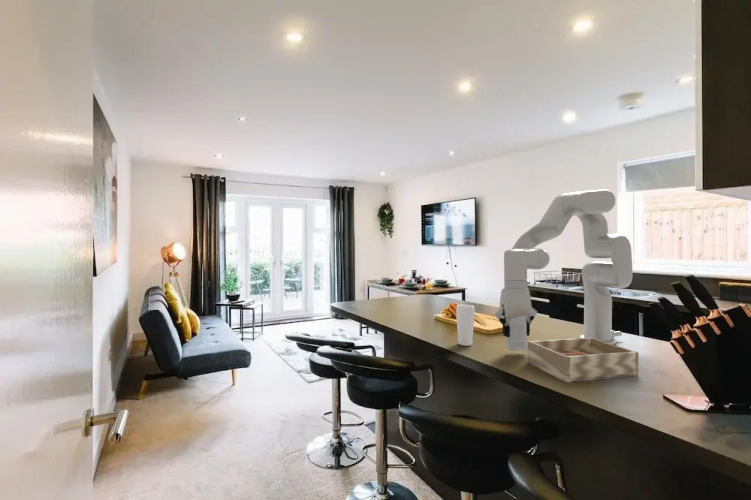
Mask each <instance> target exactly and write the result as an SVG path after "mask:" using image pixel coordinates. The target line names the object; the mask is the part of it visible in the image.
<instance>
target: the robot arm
mask: <svg viewBox="0 0 751 500" xmlns="http://www.w3.org/2000/svg"><path fill="white" fill-rule="evenodd" d="M615 204H616V196H615V194H614V192H612V191H611V190H609V189H597V190H585V191H575V192H567V193H566V192H565V193H561V194H559V195H557V196H556V197H555V198H554V199H553V200H552V201H551V203H550V205H549V206H548V208H547V210H546V212H545V213H544V214H543V216H542V217H541V219H540V220H539V222H537V224H535V225H534V226H532V227H531V228H530V229H528V230H527V231H525V232H524V233H523V234H522V235H521V236H519V237H518V239H517V240H516V242H515V243H514V245H513V246H512V248H511V249H505V251H504V253H503V276H504V277H503V280H504V281H503V282H504V284H503V286H504V287H503V288H501V291H500V298H499V309H498V310H497V311H496V312H495V313H494V314H493V315H494V317H495V318H496V319H497V320H498V322H499V323H500V324H501V325H502V335H503V337H506V338H507V337H510V326H508V324H509V322H510V319H511V318H516V317H519V316H526V325H527V336H530V332H531V327H530V325H531V324H532V321H534V319H535V317H536V316H537V314H538V311H537V310H536V309H535V308H533V306H532V300H531V299H532V298H531V293H530V289H529V288H528V285H531V283H530V282H531V281H530V280H528V270H536V271H537V270H543V269H545V268H546V267H547V266H548V265H549V264H550V255H549V253H548V252H547V251H546V250H545V249H542V248H538V247H537V246H539V245H540V244H542V243H544V242H549V241H551V240H554V239H555V238H557V237H560V236H561V234H563V231H564V230H565V228H566V227H567V225H568V223H569V222H570V220H571V219H572V217H574V216H576V217H577V218H578V219H579V220H580V223H581V225H582V234H583V248H584V249H583V250H584V253H585V256H586V257H587V258H591V259H599V260H611V262H609V261H592V262H588V263H586V264H584V266H583V267H582V269H581V279H582V283H583V291H584V293H583V297H584V298H583V299H584V300H583V301H584V302H583V304H584V305H583V308H584V309H583V311H584V312H583V334H581V335H580V336H579V338H594V339H597V340H600V341H603V342H607V343H610V344H613V345H616V344H617V340H616V339H615V337H621V336H622V332H621V331H620V330H618V331H614V330H613V329H612V327H613V326H612V325H613V323H612V319H613V316H612V315H613V309H612V308H613V299H612V294H611V292H610V290H609V289H608V288H615V289H616V288H617V289H625V288H628V287H629V286H630V285H631V283H632V281H633V258H632V256H633V255H632V245H631V242H630V240H629V238H627V236H625V235H623V234H620V233H619V234H618V233H613V234H611V233H609V228H608V227H609V226H608V221H607V218H606V217H605V216H604V214H605V213H609V212H611V211H612V210H613V209H614V207H615Z"/></svg>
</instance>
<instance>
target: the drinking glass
mask: <svg viewBox="0 0 751 500" xmlns="http://www.w3.org/2000/svg"><path fill="white" fill-rule="evenodd" d="M455 313H456V314H455V316H456V317H455V318H456V328H457V343H458V344H459V345H460V346H462V347H469V346H470V347H471V346H472V345H473V338H474V337H473V335H474V326H475V325H474V324H475V306H474V305H472V304H465V303H464V304H462V303H461V304H457V305H456V312H455Z"/></svg>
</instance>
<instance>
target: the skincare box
mask: <svg viewBox="0 0 751 500" xmlns="http://www.w3.org/2000/svg"><path fill="white" fill-rule="evenodd" d="M508 326H510V337H506V348H507V349H508V350H509V351H528V339H527V338H528V337H527V325H526V316H519V317H516V318H511V319H510V322H509V324H508Z"/></svg>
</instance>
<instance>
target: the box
mask: <svg viewBox="0 0 751 500" xmlns="http://www.w3.org/2000/svg"><path fill="white" fill-rule="evenodd" d="M527 364H530V365H531V366H533V367H536V368H538V369H539V370H541V371H544V372H545V373H547V374H549V375H551V376H553V377H555V378H557V379H559V380H561V381H563V382H565V383H573V382H572V381H577V382H586V381H587V380H588V381H598V380H599V381H601V380H609V379H623V378H633V377H639V351H635V350H632V349H628V348H625V347H623V346H619V345H616V344H610V343H607V342H603V341H600V340H597V339H594V338H580V337H578V338H564V339H563V338H560V339H559V338H558V339H544V340H543V339H542V340H527Z"/></svg>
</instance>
